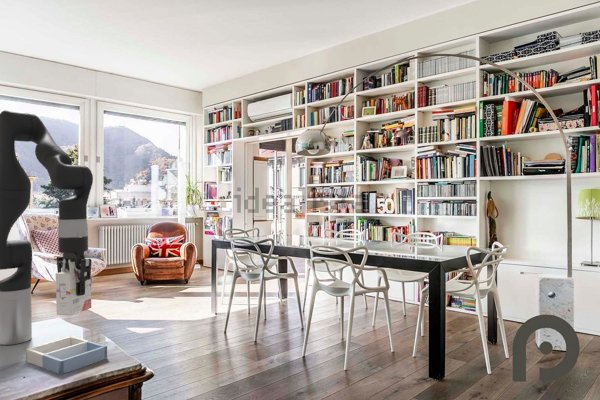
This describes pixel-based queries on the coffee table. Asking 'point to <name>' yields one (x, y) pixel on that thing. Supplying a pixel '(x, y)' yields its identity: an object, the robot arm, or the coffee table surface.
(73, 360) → the organizer tray
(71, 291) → the ink cartridge box
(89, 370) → the coffee table surface
